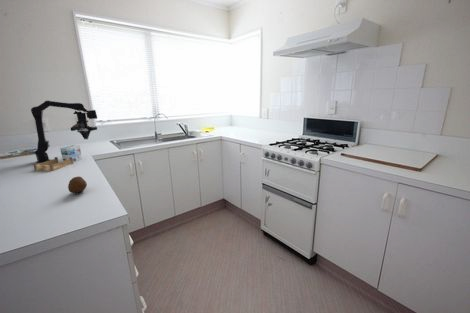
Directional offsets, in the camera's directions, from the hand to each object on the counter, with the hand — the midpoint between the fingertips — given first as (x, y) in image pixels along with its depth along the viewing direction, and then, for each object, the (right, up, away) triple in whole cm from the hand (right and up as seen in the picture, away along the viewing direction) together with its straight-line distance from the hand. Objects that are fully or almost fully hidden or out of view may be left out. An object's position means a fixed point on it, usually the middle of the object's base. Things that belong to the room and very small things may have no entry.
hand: (86, 139), depth 177 cm
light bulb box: (-2, -17, -12) cm, 21 cm away
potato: (+43, -31, -69) cm, 87 cm away
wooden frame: (-4, -21, -26) cm, 34 cm away
